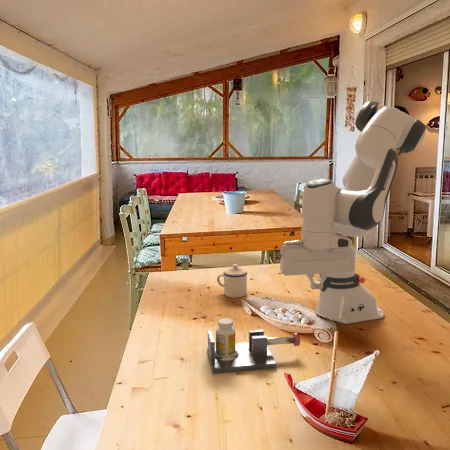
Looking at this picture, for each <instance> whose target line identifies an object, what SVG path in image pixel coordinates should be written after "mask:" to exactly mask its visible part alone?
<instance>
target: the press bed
mask: <svg viewBox="0 0 450 450" xmlns="http://www.w3.org/2000/svg"><path fill="white" fill-rule="evenodd" d="M267 338H268V335H265V331H264V329H253V330H251V329H249V330H248V341H244V342H235V354H234V355H233V356H231V357H220V356H218V355H217V354H216V340H215V339H214V335H213V332H212V329H207V345H206V352H207V356H208V360H209V364H210V368H211V372H212V375H214V374H225V373H235V372H236V373H238V372H249V371H262V370H273V369H277V361H276V360H275V358H274V356H273V354H272V352H271V351H270V350H271V349H269V345H267Z"/></svg>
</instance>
